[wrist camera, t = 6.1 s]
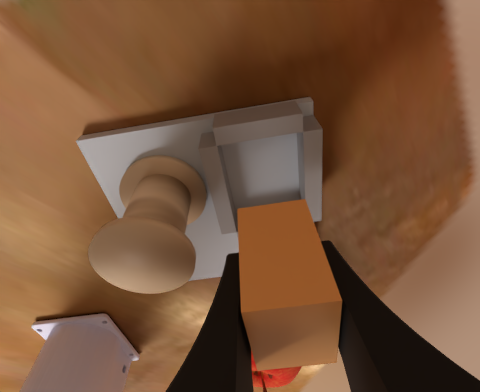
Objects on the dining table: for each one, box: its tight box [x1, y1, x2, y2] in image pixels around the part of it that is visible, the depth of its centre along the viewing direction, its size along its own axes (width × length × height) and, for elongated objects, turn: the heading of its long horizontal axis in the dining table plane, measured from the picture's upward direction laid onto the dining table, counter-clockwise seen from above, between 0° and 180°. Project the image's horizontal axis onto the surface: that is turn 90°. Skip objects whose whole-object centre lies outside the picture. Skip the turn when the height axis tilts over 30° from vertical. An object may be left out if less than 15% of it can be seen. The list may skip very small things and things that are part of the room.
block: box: [237, 199, 342, 371], centre depth 12 cm, size 4×3×5 cm
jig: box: [76, 97, 323, 281], centre depth 20 cm, size 14×14×3 cm
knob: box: [88, 155, 207, 294], centre depth 17 cm, size 6×6×6 cm
